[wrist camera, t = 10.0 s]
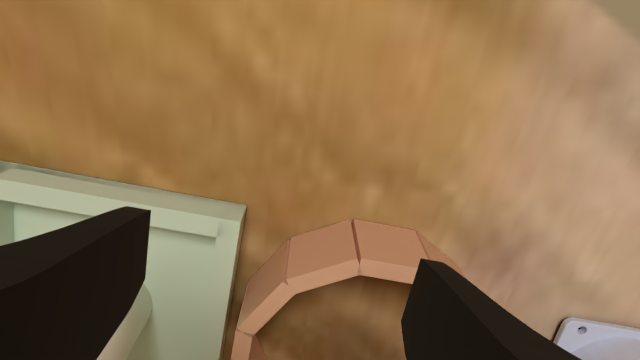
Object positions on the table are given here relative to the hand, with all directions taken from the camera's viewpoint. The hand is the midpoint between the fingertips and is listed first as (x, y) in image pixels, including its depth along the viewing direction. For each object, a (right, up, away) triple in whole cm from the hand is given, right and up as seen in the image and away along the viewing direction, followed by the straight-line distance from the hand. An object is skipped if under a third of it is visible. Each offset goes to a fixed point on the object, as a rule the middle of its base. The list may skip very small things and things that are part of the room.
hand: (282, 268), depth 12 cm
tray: (-10, -4, +12) cm, 16 cm away
